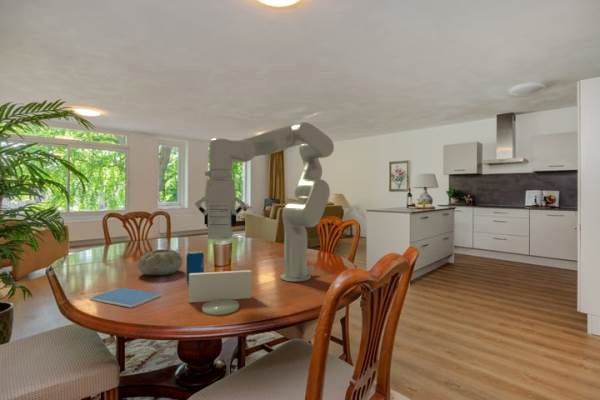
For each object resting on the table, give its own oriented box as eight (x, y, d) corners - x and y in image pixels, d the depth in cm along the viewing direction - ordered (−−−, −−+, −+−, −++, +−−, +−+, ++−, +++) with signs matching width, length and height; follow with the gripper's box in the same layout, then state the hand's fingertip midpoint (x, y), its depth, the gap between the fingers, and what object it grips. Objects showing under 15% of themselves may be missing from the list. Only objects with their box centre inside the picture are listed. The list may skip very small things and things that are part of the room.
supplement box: (211, 236, 110) (212, 200, 110) (233, 236, 111) (233, 201, 110) (206, 239, 103) (207, 201, 102) (229, 239, 103) (229, 201, 103)
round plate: (226, 299, 103) (226, 296, 103) (246, 308, 96) (246, 305, 96) (195, 307, 96) (195, 305, 96) (213, 318, 88) (213, 315, 88)
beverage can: (198, 285, 119) (198, 253, 118) (183, 283, 120) (183, 253, 120) (206, 280, 125) (206, 250, 125) (192, 279, 126) (192, 250, 126)
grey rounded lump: (171, 279, 125) (171, 255, 125) (128, 279, 126) (128, 254, 125) (188, 268, 143) (188, 247, 143) (150, 268, 144) (150, 246, 143)
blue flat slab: (88, 301, 102) (88, 297, 102) (122, 290, 113) (122, 286, 113) (131, 310, 95) (131, 306, 95) (163, 297, 106) (163, 293, 106)
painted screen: (188, 302, 100) (188, 274, 100) (189, 300, 102) (189, 273, 102) (251, 297, 105) (251, 271, 105) (250, 296, 107) (250, 270, 107)
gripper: (192, 174, 101) (192, 228, 101) (247, 175, 104) (246, 227, 105) (195, 175, 108) (195, 225, 108) (246, 176, 112) (245, 225, 112)
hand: (220, 226), depth 107 cm, fingers closed on supplement box, 8 cm apart
